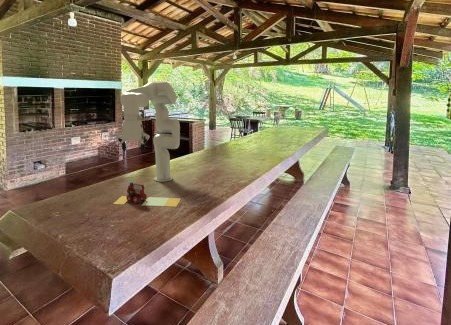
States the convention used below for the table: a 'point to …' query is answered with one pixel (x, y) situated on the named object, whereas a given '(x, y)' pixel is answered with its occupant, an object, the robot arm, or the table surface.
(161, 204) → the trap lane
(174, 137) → the robot arm
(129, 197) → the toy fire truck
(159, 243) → the table surface
